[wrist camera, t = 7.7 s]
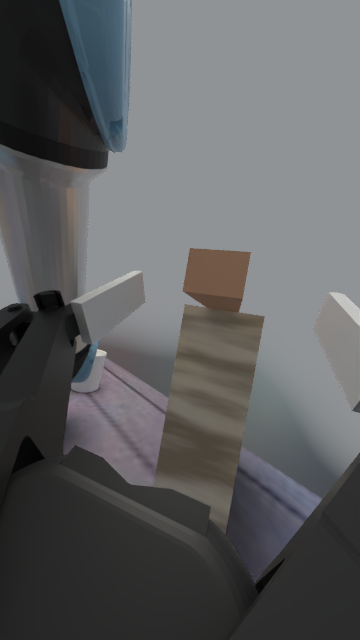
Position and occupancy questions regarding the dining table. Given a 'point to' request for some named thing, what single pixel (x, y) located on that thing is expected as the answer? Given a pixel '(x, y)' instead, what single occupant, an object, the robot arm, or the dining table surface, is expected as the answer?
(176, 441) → the pedestal
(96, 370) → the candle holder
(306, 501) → the dining table surface
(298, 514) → the dining table surface
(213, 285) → the lever bar
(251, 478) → the dining table surface
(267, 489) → the dining table surface
